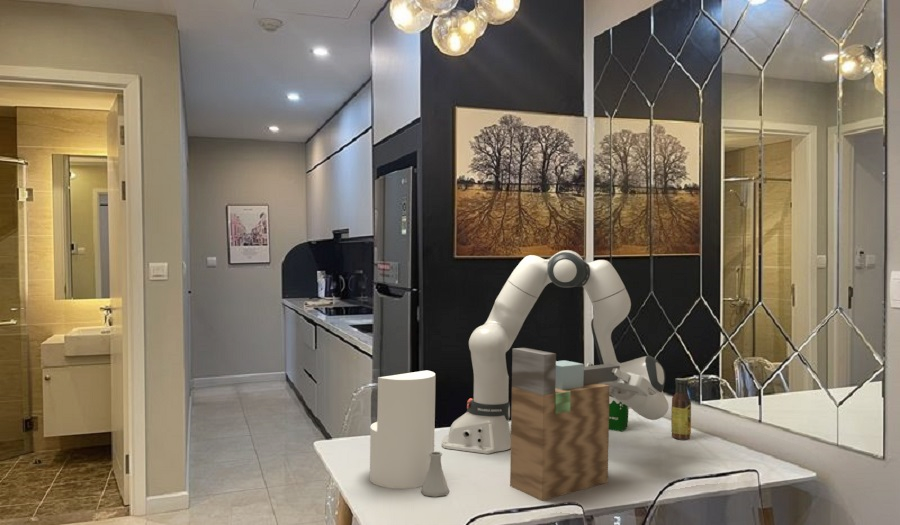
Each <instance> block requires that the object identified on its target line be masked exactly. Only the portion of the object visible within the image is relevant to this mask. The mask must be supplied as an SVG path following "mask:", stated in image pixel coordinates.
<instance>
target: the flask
mask: <svg viewBox="0 0 900 525" xmlns="http://www.w3.org/2000/svg"><path fill="white" fill-rule="evenodd" d="M429 455H430V466H429V470H428V473H427V476H426V479H425V481H424V484H423V486H421V490H420V492H421V493H422V494H423V495H424V496H428V497H434V498H435V497H437V498H438V497H443V496H447V495H448V494H449V492H450V490H449V485H448V484H447V480H446V477H445V474H444V471H443V467H442V456H443V453H442V452H441V451H436V450H434V452H430V453H429Z"/></svg>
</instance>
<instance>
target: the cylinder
mask: <svg viewBox="0 0 900 525" xmlns="http://www.w3.org/2000/svg"><path fill="white" fill-rule="evenodd" d="M376 413H377V417H376V418H377V420H376V421H375V422H373V423H372V424H371V425H370V433H369V434H370V439H369V440H370V441H369V442H370V444H369V450H370V451H369V480H370V481H371V482H372V483H371V484H374V485H377V486H380V487H383V488H386V489H387V488H388V489H397V490H398V489H403V490H404V489H414V488H419V487H423V484H424V481H425V479H426V476H427V473H428V470H429V466H430V455H429V453H430V452H434V451H435V427H436V426H435V421H436V419H435V418H436V373H435V372H434V371H431V370H419V371H414V372H412V371H411V372H407V373H400V374H399V373H398V374H393V375H386V376H379V377H377V412H376Z"/></svg>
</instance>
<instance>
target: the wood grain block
mask: <svg viewBox="0 0 900 525" xmlns="http://www.w3.org/2000/svg"><path fill="white" fill-rule="evenodd" d="M511 358H512V362H511V363H512V365H511V406H510V418H511V420H510V436H511V448H510V467H509V468H510V469H509V470H510V471H509V473H510V474H509V477H510V478H509V486H510V487H511V486H512V488H514V489H516V490H518V491H521V492H522V493H525V494H527V495H528V496H531V497H534V498H535V499H538V500H539V501H544V500H548V499H553V498H555V497H559V496H563V495H566V494H570V493H574V492H577V491H581V490H585V489H589V488H592V487H596V486H600V485H604V484H608V483H609V436H610V435H609V434H610V430H609V391H610V386H609V385H605V384H600V383H595V384H588V385H583V387H578V388H571V389H564V390H560V389H556V388H555V385H556V361H557V353H554V352H550V351H546V350H545V351H543V350H540V349H539V350H538V349H534V348H528V347H517V348H512V357H511Z"/></svg>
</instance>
